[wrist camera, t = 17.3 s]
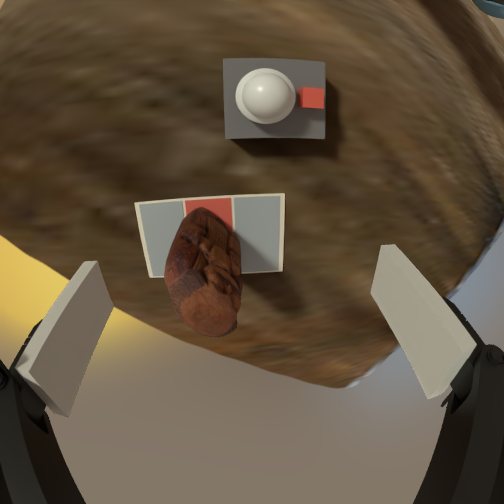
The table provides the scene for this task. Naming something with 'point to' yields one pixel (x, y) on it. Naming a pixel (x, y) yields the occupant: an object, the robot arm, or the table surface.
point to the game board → (234, 217)
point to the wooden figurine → (205, 274)
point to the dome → (265, 96)
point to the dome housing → (305, 108)
